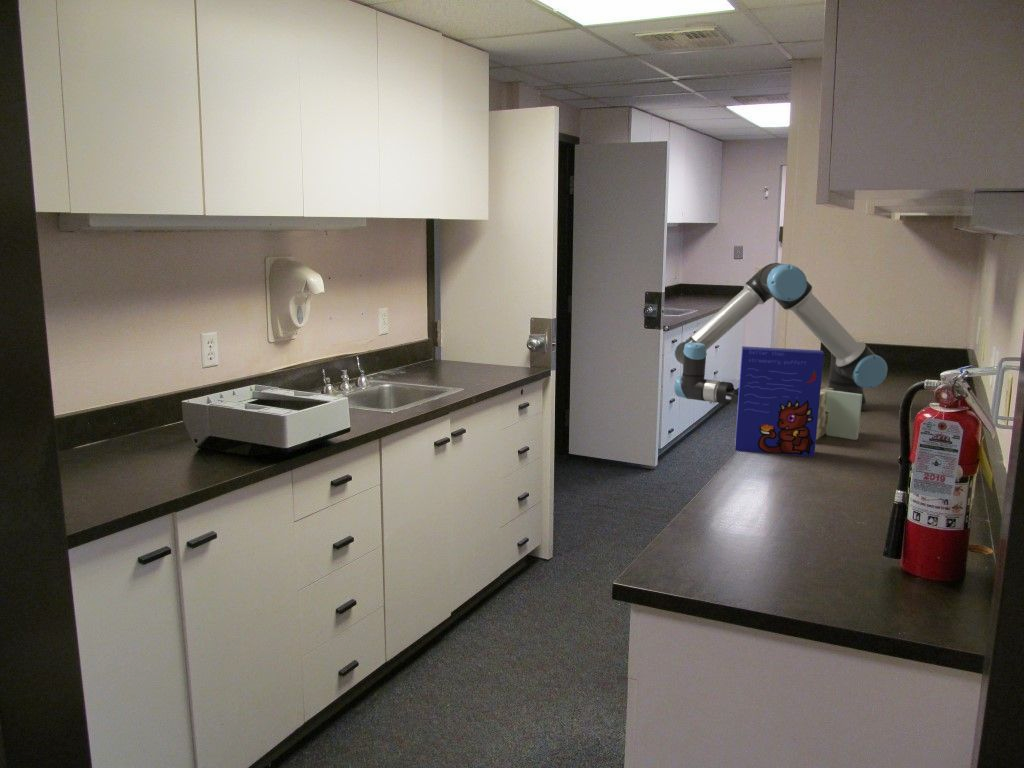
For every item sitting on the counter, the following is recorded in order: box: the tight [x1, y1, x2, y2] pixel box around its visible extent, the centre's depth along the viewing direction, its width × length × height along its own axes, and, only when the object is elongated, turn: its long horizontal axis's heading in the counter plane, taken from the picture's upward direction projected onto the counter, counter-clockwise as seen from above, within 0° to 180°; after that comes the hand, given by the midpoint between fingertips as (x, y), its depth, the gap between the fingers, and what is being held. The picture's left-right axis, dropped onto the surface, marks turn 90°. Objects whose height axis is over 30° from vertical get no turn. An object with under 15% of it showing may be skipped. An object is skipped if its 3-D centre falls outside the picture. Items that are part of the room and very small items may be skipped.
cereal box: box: [734, 345, 825, 458], centre depth 236 cm, size 22×6×30 cm, turn 76°
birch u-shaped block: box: [816, 386, 833, 441], centre depth 255 cm, size 20×2×14 cm, turn 144°
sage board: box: [820, 388, 862, 441], centre depth 259 cm, size 22×2×14 cm, turn 54°
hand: (782, 401), depth 266 cm, fingers open, 13 cm apart
